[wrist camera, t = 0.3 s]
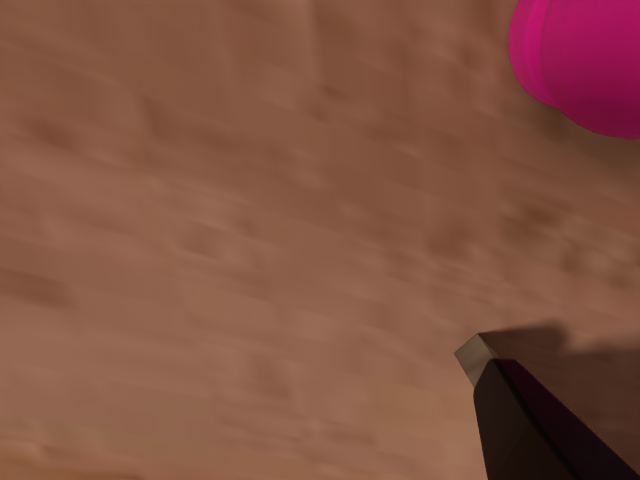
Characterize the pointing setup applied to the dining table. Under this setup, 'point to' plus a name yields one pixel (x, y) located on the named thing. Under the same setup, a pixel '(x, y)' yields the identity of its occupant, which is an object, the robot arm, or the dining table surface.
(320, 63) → the dining table surface
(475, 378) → the gate frame
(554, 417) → the robot arm
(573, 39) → the pepper mill
